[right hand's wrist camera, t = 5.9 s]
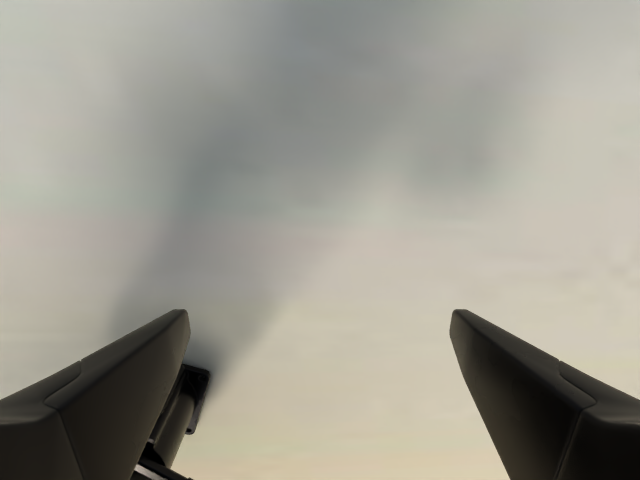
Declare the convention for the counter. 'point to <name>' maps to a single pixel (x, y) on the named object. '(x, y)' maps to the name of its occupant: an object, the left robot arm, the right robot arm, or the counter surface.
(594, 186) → the counter surface
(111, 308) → the counter surface
